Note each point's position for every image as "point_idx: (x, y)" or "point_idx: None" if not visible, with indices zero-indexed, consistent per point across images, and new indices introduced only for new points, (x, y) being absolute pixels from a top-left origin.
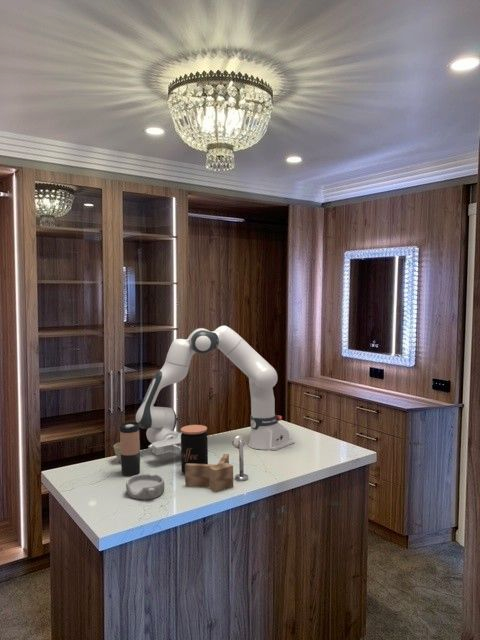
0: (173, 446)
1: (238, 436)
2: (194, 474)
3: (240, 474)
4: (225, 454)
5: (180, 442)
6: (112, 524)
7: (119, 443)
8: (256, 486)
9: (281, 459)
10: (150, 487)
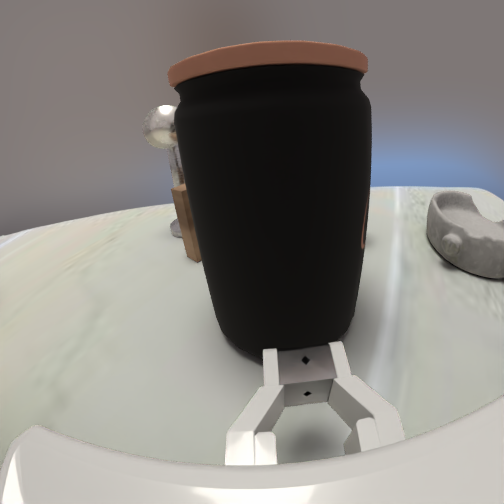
0: (398, 428)
1: (167, 105)
2: None
3: None
4: (181, 188)
5: (275, 463)
6: (483, 197)
7: None
8: None
9: (30, 270)
10: (455, 192)
